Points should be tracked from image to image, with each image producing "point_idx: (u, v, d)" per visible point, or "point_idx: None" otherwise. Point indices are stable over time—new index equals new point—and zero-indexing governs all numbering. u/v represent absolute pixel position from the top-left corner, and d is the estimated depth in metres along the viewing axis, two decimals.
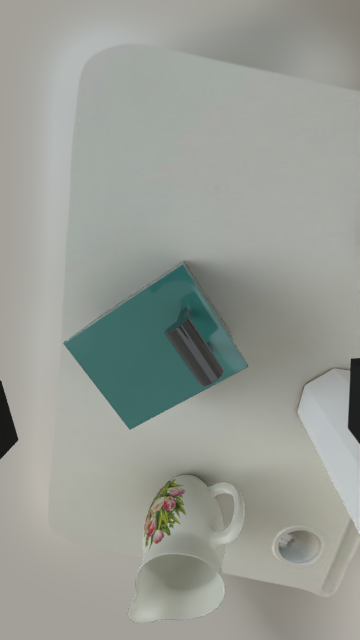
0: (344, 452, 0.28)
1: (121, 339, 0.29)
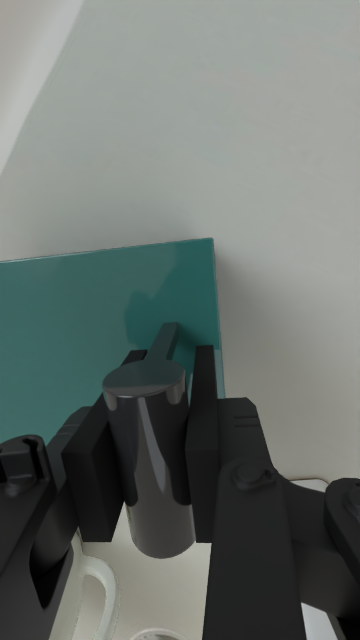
0: None
1: (24, 320, 0.14)
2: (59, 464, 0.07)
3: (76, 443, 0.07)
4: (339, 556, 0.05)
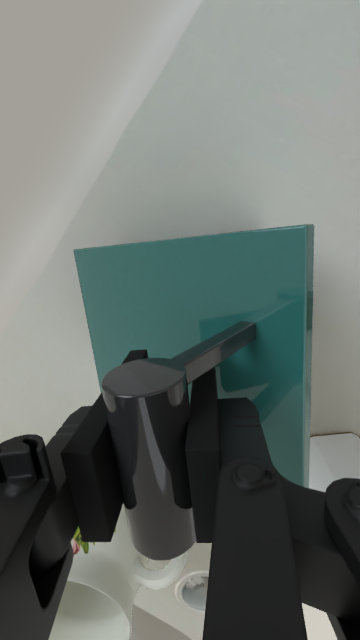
0: None
1: (133, 296, 0.16)
2: (59, 464, 0.07)
3: (76, 443, 0.07)
4: (340, 556, 0.05)
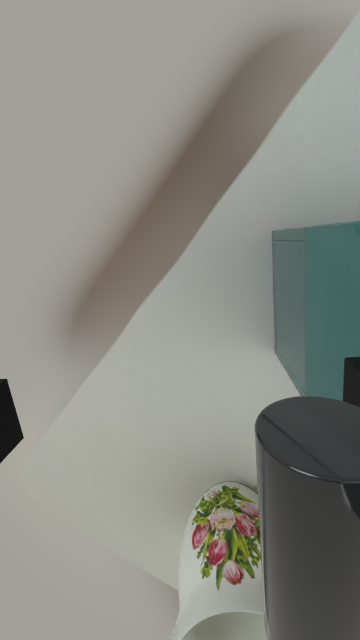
0: None
1: None
2: None
3: None
4: None
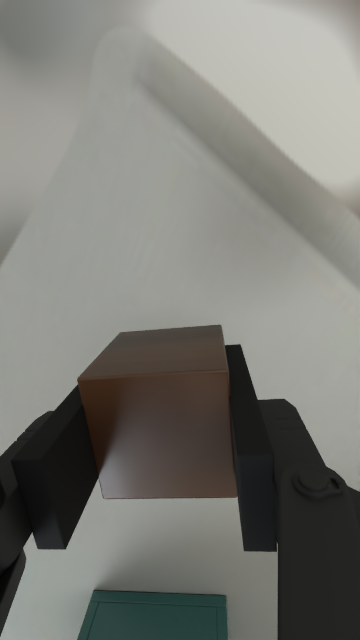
0: None
1: None
2: (13, 471, 0.07)
3: (28, 450, 0.07)
4: None
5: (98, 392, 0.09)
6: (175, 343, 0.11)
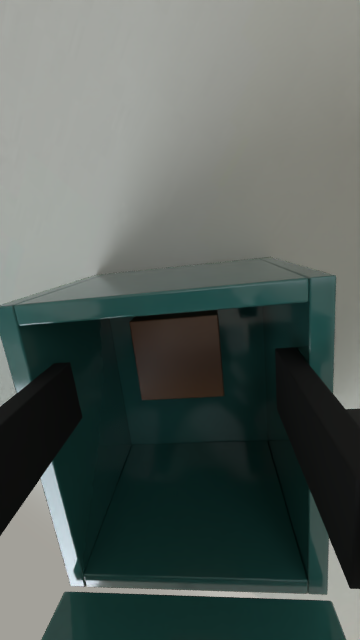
0: None
1: None
2: None
3: None
4: None
5: (141, 330, 0.15)
6: None
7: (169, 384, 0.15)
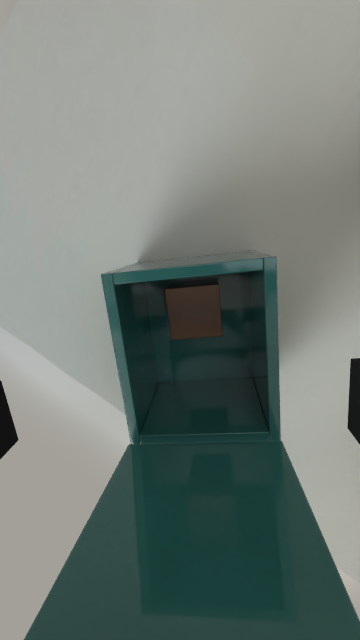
0: None
1: None
2: None
3: None
4: None
5: (172, 294, 0.24)
6: (198, 281, 0.26)
7: (188, 329, 0.25)
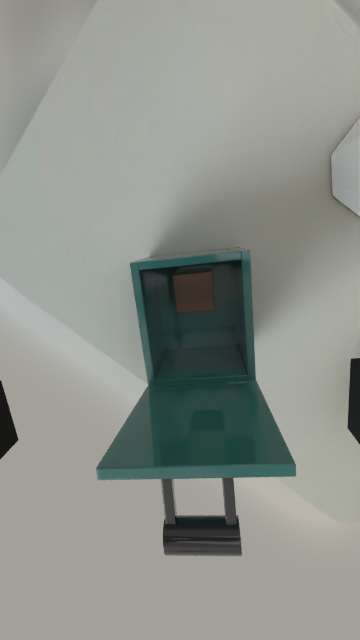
0: None
1: None
2: None
3: None
4: None
5: (177, 279, 0.33)
6: (197, 270, 0.35)
7: (189, 304, 0.34)
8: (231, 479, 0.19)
